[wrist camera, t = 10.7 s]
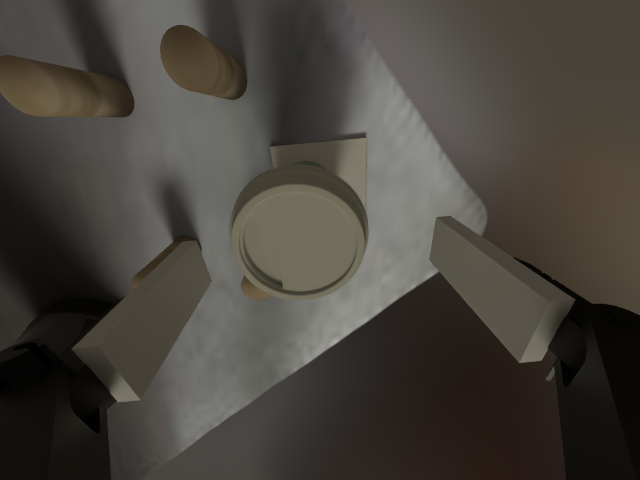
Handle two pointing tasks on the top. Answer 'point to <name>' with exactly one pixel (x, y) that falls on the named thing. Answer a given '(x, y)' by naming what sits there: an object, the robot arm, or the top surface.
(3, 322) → the top surface
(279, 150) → the felt mat
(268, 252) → the coffee cup
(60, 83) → the spacer posts
